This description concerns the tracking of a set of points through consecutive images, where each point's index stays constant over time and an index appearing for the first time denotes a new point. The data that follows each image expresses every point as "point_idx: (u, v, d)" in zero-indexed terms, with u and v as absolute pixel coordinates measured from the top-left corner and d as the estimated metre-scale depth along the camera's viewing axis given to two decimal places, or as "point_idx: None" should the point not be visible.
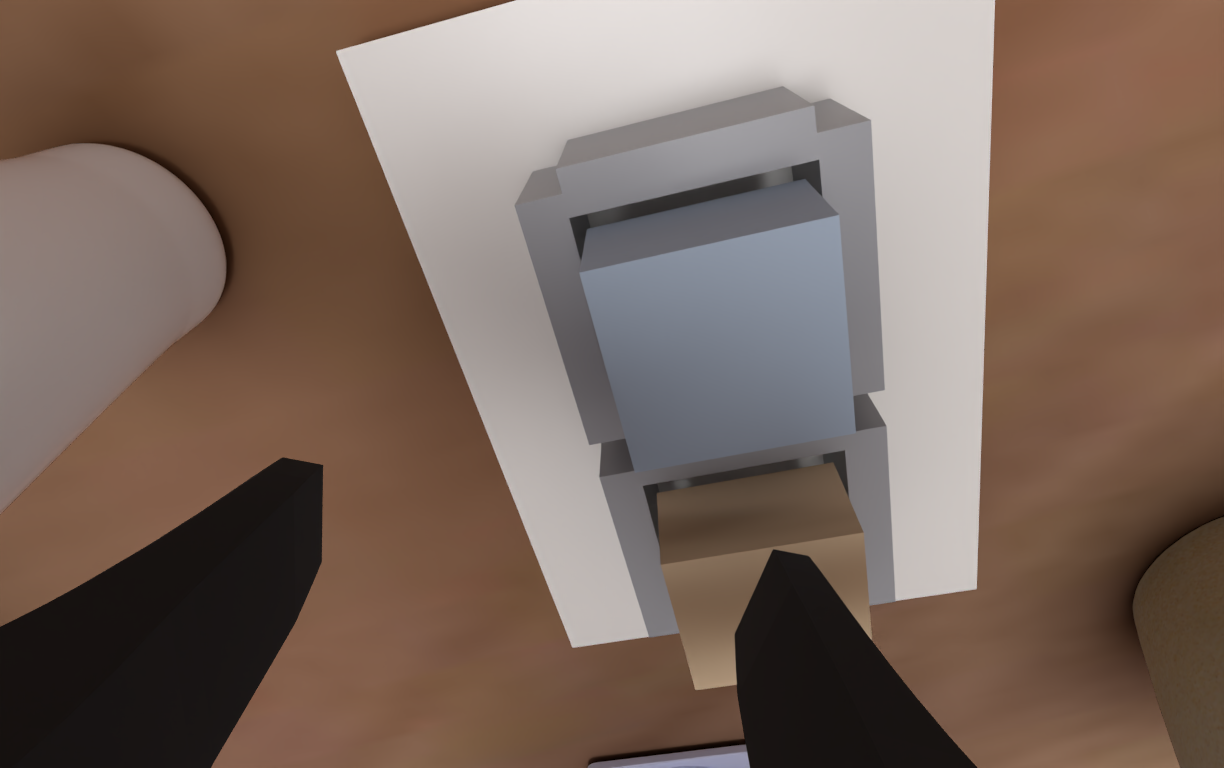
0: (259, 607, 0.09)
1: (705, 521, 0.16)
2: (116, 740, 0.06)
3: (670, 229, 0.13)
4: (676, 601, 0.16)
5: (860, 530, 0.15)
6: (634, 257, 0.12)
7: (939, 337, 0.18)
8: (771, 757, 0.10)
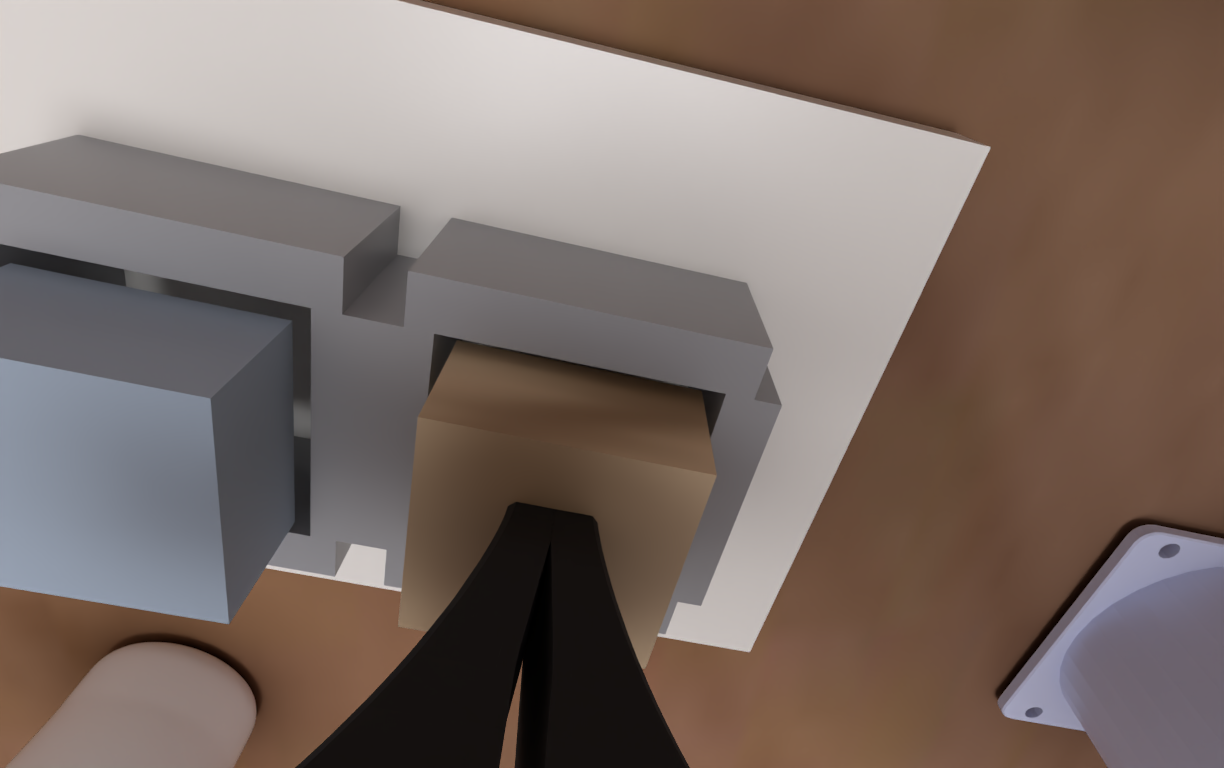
0: (522, 651, 0.09)
1: None
2: None
3: None
4: None
5: (419, 416, 0.10)
6: None
7: (446, 86, 0.12)
8: (524, 717, 0.09)
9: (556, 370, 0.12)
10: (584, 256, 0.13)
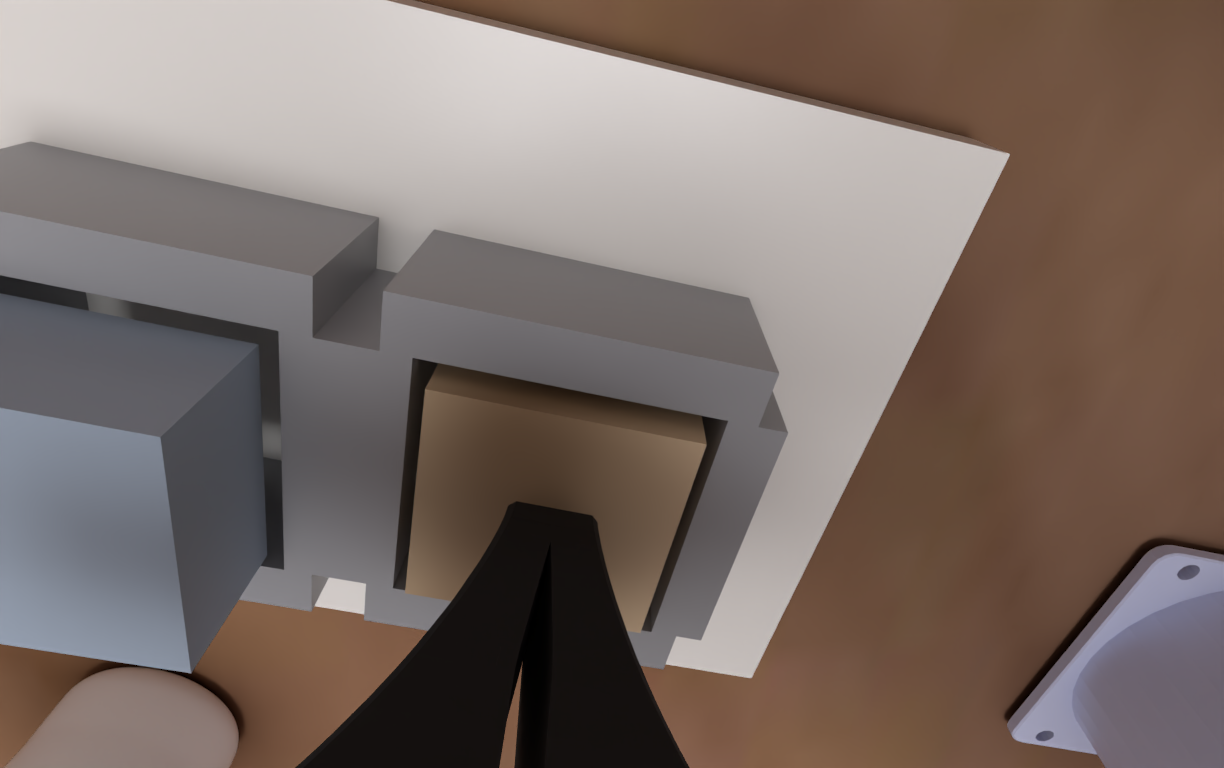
0: (523, 651, 0.09)
1: None
2: None
3: None
4: None
5: (426, 389, 0.10)
6: None
7: (426, 89, 0.11)
8: (524, 718, 0.09)
9: None
10: (575, 271, 0.12)
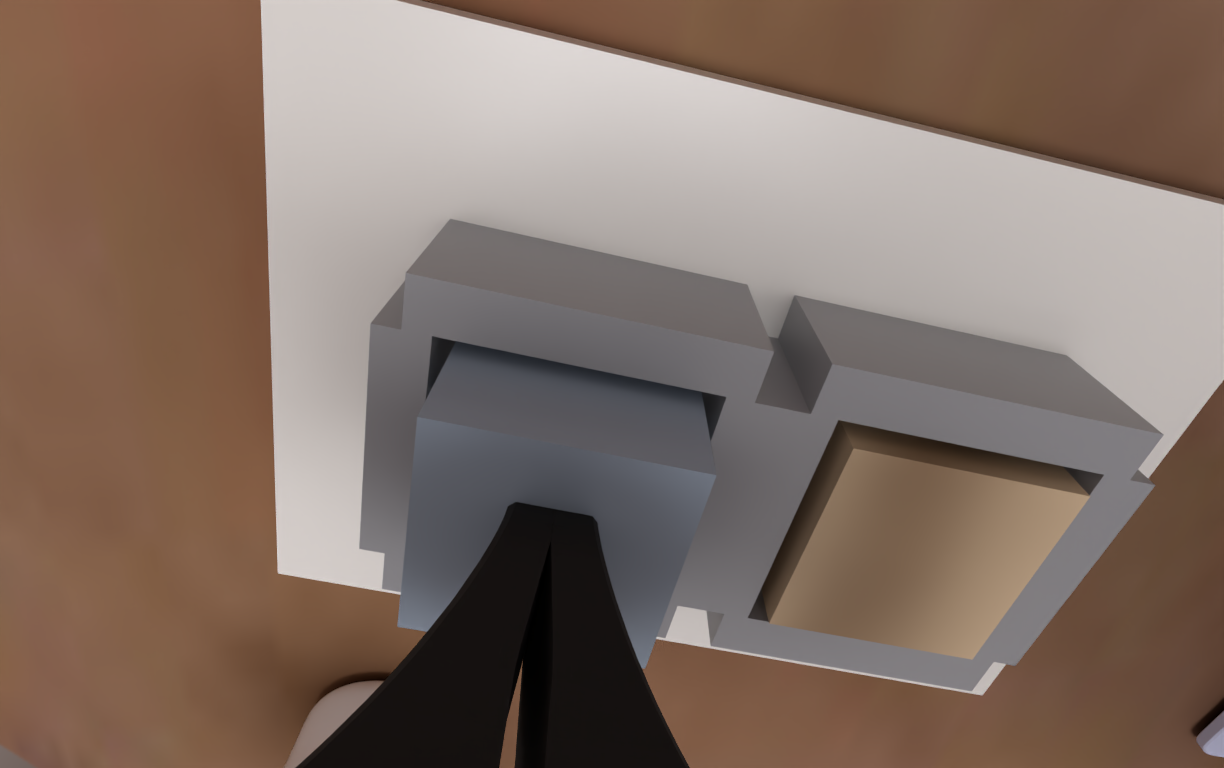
0: (522, 651, 0.09)
1: None
2: None
3: None
4: (827, 629, 0.14)
5: (851, 447, 0.12)
6: (403, 580, 0.11)
7: (820, 176, 0.13)
8: (524, 718, 0.09)
9: None
10: (928, 333, 0.14)
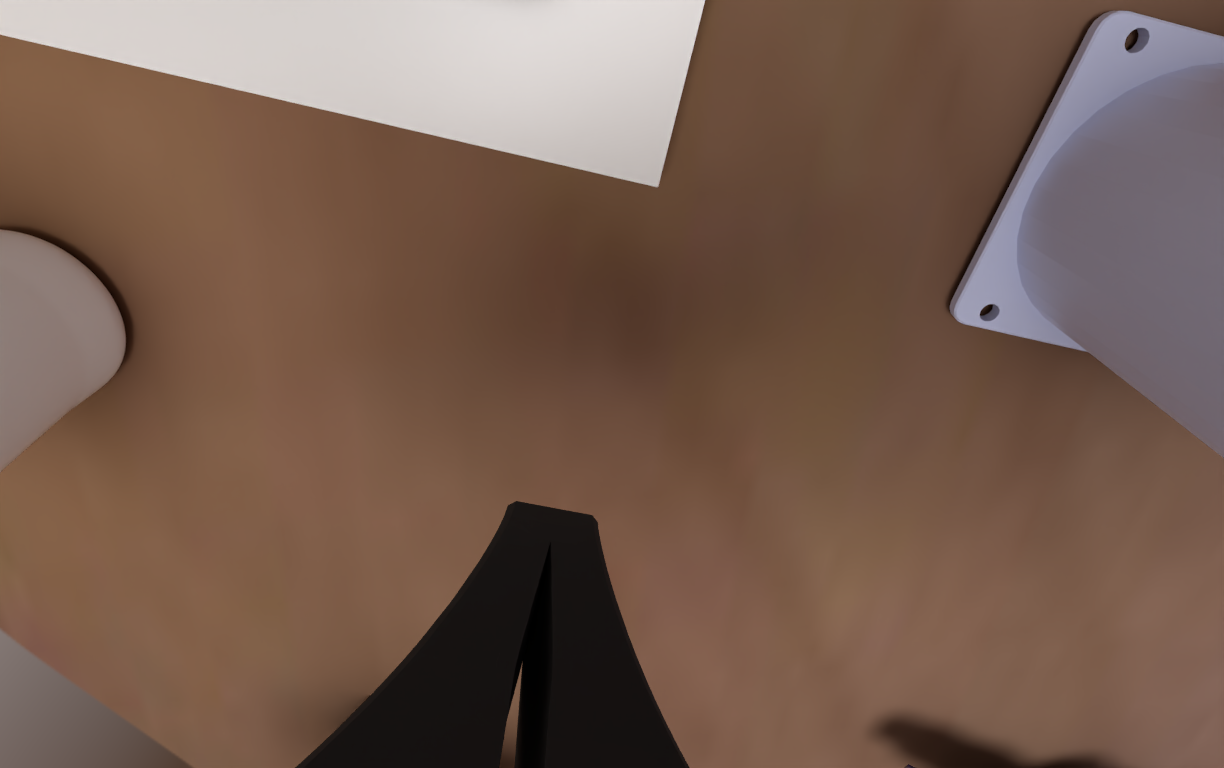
0: (523, 651, 0.09)
1: None
2: None
3: None
4: None
5: None
6: None
7: None
8: (524, 717, 0.09)
9: None
10: None
